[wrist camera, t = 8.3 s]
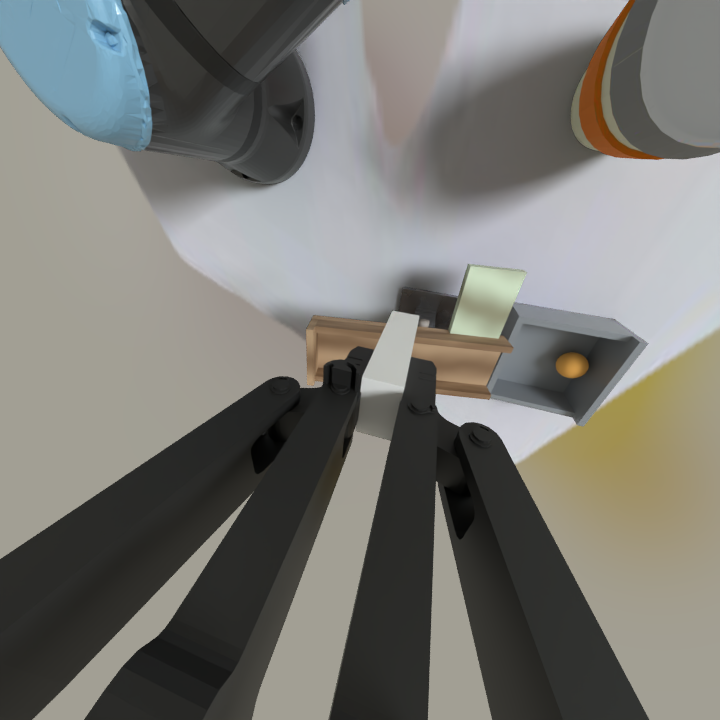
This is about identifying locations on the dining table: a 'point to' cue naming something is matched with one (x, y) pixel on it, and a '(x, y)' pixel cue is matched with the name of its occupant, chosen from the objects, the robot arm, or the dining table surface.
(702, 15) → the reusable coffee cup
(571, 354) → the ball
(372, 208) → the dining table surface
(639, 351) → the grey tray
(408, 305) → the stand
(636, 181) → the dining table surface
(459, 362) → the chute
